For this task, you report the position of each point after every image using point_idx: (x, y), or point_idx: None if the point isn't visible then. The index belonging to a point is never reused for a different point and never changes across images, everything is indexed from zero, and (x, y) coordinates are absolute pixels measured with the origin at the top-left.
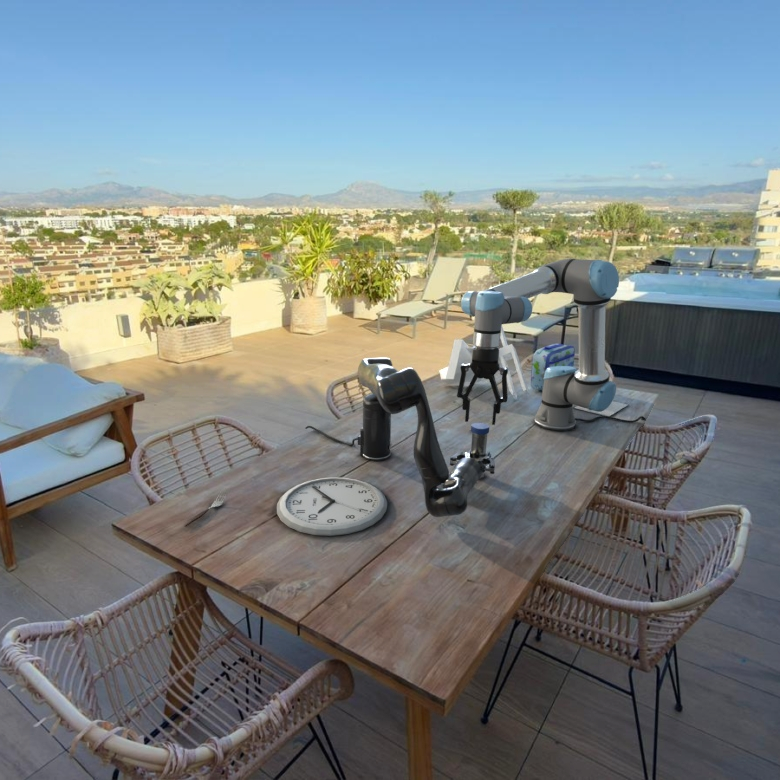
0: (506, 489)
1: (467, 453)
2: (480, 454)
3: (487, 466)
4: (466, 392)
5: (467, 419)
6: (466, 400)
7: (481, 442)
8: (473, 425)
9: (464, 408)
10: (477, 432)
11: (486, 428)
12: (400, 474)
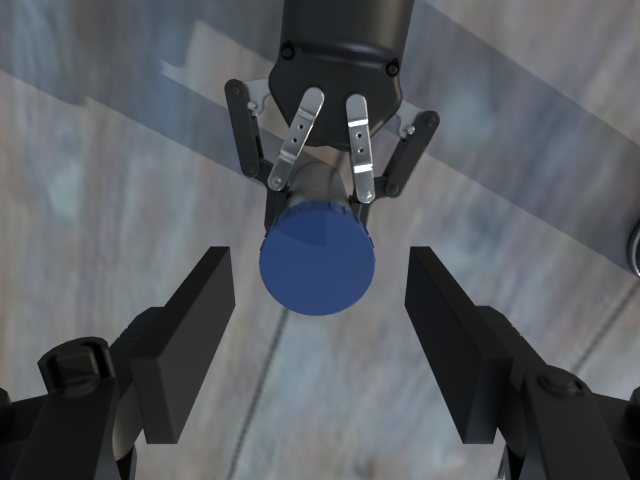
0: (203, 113)
1: (364, 189)
2: (304, 183)
3: (261, 97)
4: (609, 472)
5: (417, 254)
6: (511, 376)
7: (301, 197)
8: (362, 258)
9: (482, 313)
10: (327, 204)
11: (271, 232)
12: (590, 111)
